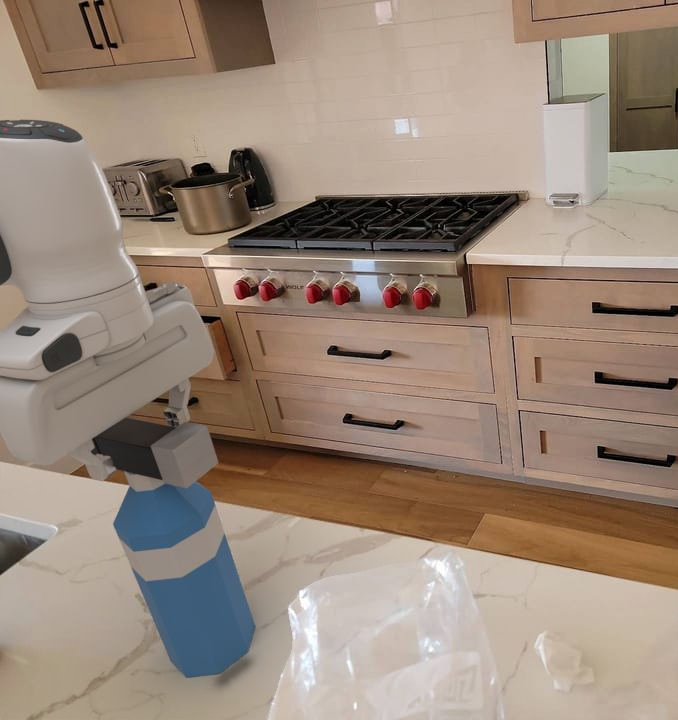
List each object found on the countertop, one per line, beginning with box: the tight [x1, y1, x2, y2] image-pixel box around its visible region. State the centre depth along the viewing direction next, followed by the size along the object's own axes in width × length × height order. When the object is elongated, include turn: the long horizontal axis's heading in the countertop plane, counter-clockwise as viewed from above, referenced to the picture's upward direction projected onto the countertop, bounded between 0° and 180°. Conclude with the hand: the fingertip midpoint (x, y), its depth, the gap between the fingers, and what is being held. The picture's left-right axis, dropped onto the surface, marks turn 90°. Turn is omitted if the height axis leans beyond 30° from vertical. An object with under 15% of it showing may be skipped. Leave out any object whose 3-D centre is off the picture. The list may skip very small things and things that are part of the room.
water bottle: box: [112, 471, 256, 679], centre depth 72 cm, size 9×9×25 cm
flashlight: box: [90, 417, 219, 488], centre depth 65 cm, size 12×4×4 cm, turn 67°
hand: (144, 448), depth 65 cm, fingers open, 8 cm apart
